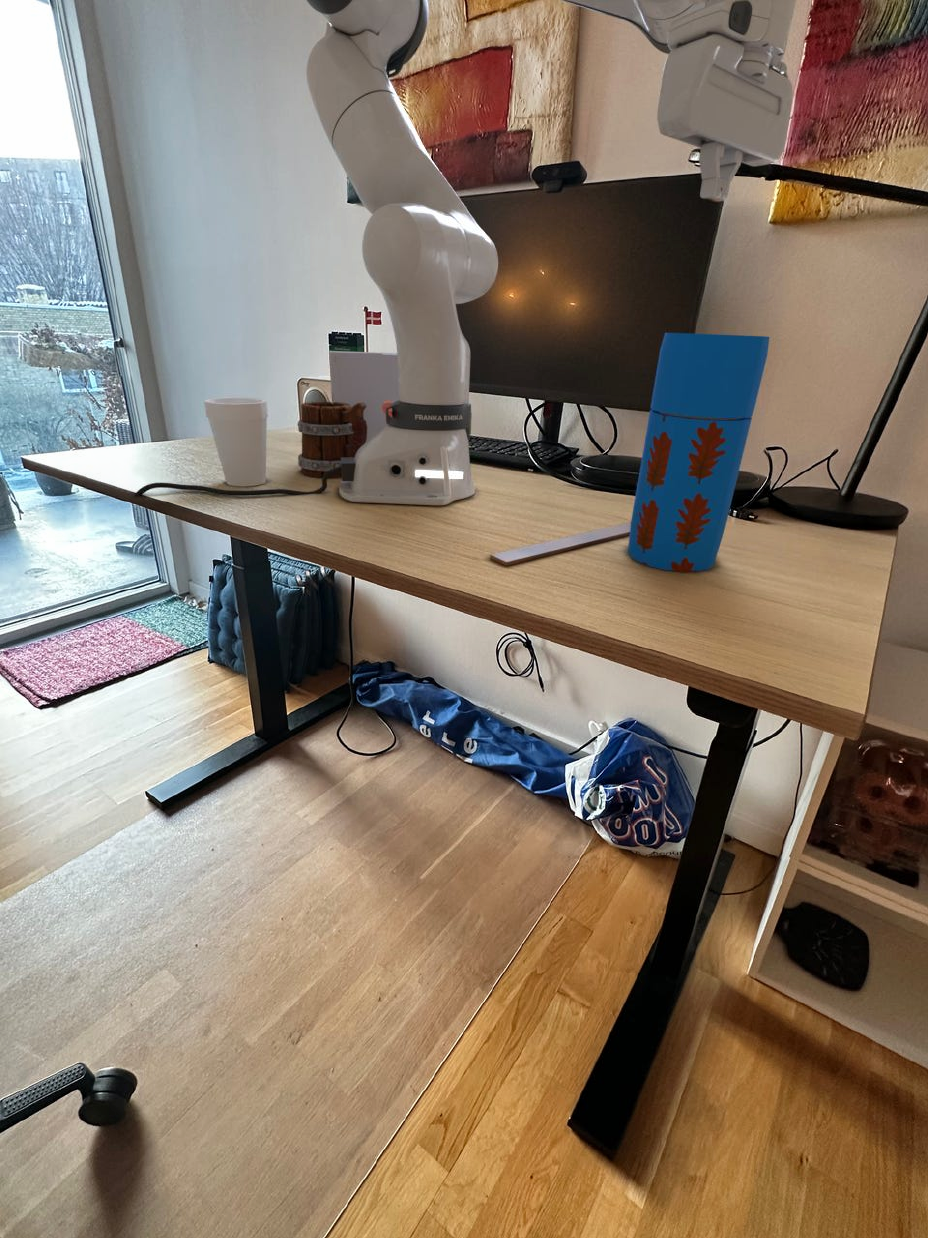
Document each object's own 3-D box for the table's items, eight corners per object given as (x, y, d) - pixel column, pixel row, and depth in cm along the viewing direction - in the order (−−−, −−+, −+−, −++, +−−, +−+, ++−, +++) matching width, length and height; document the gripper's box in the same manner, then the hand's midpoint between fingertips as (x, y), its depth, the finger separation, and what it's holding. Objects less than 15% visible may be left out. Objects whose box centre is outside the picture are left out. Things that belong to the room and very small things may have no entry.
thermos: (727, 575, 67) (788, 337, 56) (634, 569, 68) (676, 332, 57) (702, 545, 77) (751, 336, 66) (621, 539, 78) (655, 332, 67)
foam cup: (234, 474, 103) (223, 396, 97) (284, 477, 102) (276, 399, 96) (205, 486, 95) (192, 402, 89) (259, 490, 94) (249, 405, 88)
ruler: (506, 566, 68) (506, 562, 67) (489, 558, 70) (490, 554, 70) (663, 526, 84) (663, 523, 84) (646, 521, 86) (646, 518, 86)
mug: (328, 459, 116) (333, 381, 108) (381, 483, 110) (390, 402, 102) (281, 468, 107) (282, 383, 99) (336, 495, 101) (342, 407, 93)
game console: (467, 458, 124) (471, 356, 115) (337, 460, 117) (331, 351, 108) (459, 452, 129) (463, 354, 120) (335, 455, 122) (328, 350, 113)
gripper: (764, 75, 69) (736, 215, 75) (658, 19, 58) (635, 189, 64) (819, 59, 65) (784, 208, 71) (715, -5, 54) (685, 179, 60)
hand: (713, 199), depth 67 cm, fingers closed
